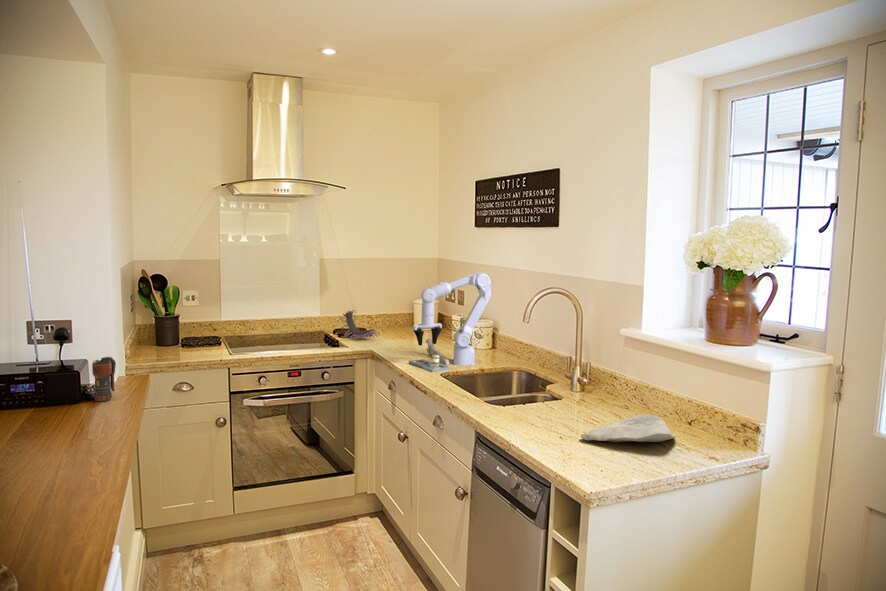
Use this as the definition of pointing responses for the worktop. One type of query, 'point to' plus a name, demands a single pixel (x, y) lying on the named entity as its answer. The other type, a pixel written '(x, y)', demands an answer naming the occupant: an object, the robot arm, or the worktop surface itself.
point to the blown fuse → (435, 361)
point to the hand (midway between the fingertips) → (427, 344)
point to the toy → (354, 329)
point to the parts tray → (443, 368)
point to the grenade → (103, 378)
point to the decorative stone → (632, 430)
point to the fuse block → (419, 362)
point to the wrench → (435, 352)
